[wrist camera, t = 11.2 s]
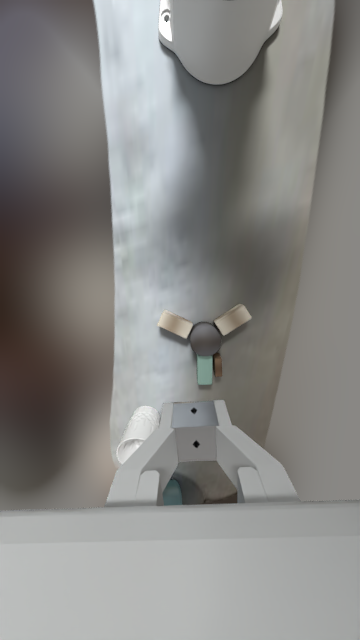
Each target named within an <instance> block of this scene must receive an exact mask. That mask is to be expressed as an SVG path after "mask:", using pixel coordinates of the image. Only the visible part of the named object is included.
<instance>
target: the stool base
mask: <svg viewBox="0 0 360 640" xmlns="http://www.w3.org/2000/svg"><path fill="white" fill-rule="evenodd" d="M251 318H252V317H251V316H250V314H249V312H248V311H247V309H246V308H245V306H244V305H242V304H238V305H237V306H235V307H234V308H232V309H230V310H229V311H227V312H226V313H224V314H223V315H221V316H220V317H218V318H217V319H215V320H213V321H214V322H215V324H216V325H217V327H218V328H219V330H220V331H221V333H222V334H223V336H224V335H226V334H228V333H229V332H231V331H232V330H234V329H236V328H237V327H239V326H240V325H242V324H244V323H245V322H247V321H248V320H250V319H251ZM157 326H160V327H162V328H164V329H166V330H168V331H170V332H173V333H175V334H177V335H179V336H181V337H184V338H187V336H188V334H189V332H190V343H191V347H192V349H193V351H194V352H195V353H197V354H198V355H200V356H211V355H213V370H214V374H215V377H220V376H222V359H221V357H220V354H219V353H216V352H217V351H218V350H219V348H220V346H221V337H220V335H219V333H218V331H217V330H216V328H215V327H214V326H213V325H212V324H211V323H209V322H199V323H197V324H195V325H194V326H193V324H192V322H191V321H188V320H186V319H184V318H182V317H180V316H178V315H176V314H173V313H171V312H169V311H167V310H165V309H164V311H163V313H162V315H161V317H160V320H159V322H158V324H157ZM192 326H193V327H192ZM191 328H192V329H191ZM190 330H191V331H190Z"/></svg>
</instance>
